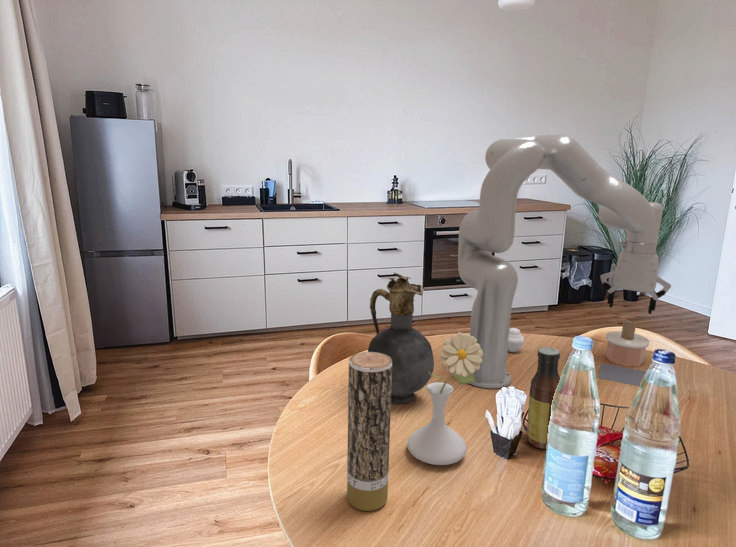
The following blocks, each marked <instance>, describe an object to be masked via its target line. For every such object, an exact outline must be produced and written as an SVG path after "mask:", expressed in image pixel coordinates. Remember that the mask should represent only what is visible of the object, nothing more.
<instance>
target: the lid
mask: <svg viewBox="0 0 736 547" xmlns="http://www.w3.org/2000/svg"><path fill="white" fill-rule="evenodd" d="M636 326H637V323H636V322H635V321H631V320H623V321H622V329H621V331H619V330H618V331H617V330H616V331H615V330H613V331H609V332H607V333H606V334H605V339H606V341H607V343H608V342H610V343H612V344H615V345H618V346H621V347H626V348H636V349H639V348H646V349H647V347H649V345H650V340H649V339H648V338H647V337H646V336H643V335H641V334H637V333H636Z"/></svg>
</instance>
